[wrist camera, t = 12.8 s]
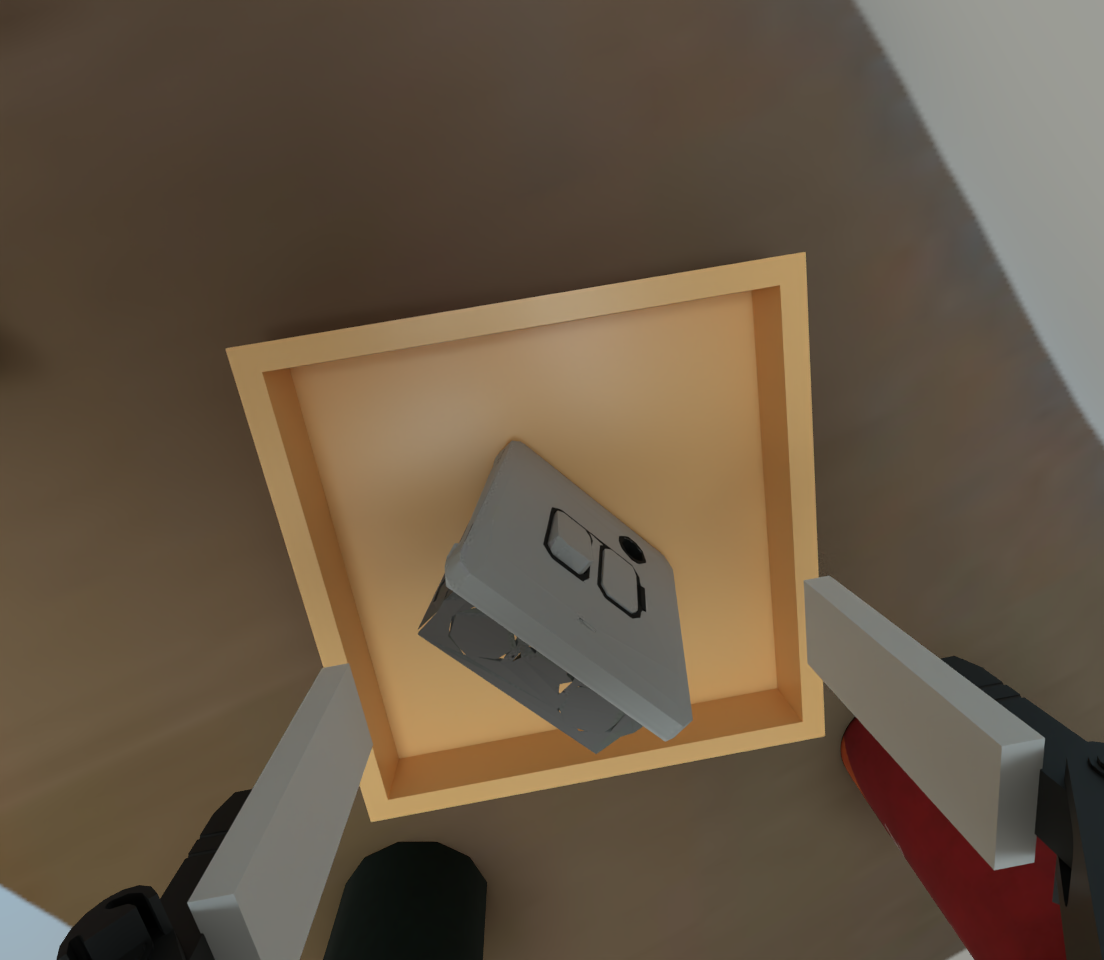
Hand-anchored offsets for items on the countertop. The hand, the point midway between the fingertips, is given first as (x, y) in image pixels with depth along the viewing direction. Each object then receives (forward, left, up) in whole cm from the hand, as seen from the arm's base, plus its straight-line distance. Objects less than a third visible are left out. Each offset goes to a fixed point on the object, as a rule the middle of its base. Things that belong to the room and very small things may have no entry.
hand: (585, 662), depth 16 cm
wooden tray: (0, 0, -10) cm, 10 cm away
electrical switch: (0, 0, -10) cm, 10 cm away
